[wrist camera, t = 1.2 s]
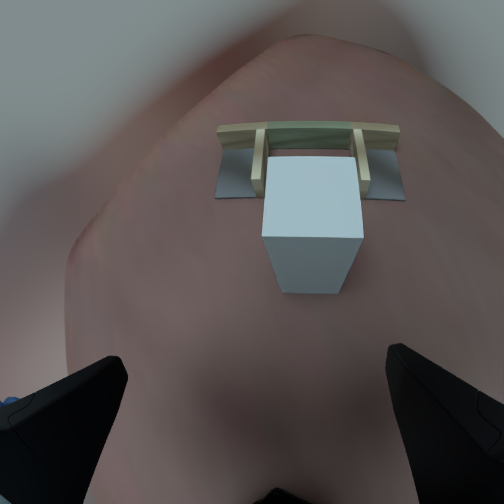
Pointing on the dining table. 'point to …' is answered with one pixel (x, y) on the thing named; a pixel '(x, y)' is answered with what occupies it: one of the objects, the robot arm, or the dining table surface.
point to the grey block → (312, 221)
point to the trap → (308, 136)
